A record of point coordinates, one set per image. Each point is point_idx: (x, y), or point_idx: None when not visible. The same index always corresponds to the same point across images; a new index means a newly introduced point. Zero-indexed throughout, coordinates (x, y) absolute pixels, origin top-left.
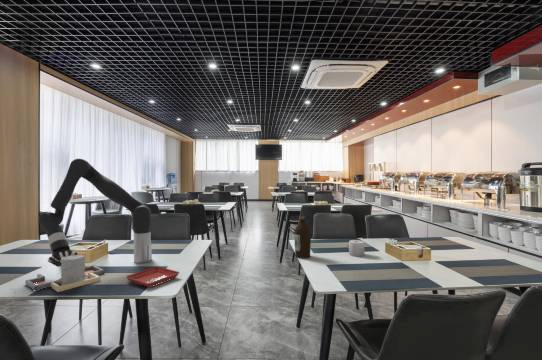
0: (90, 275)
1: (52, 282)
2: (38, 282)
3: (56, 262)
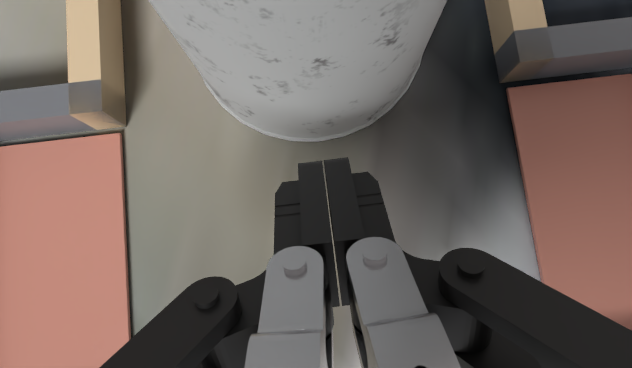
0: (109, 51)
1: (526, 24)
2: None
3: (543, 283)
